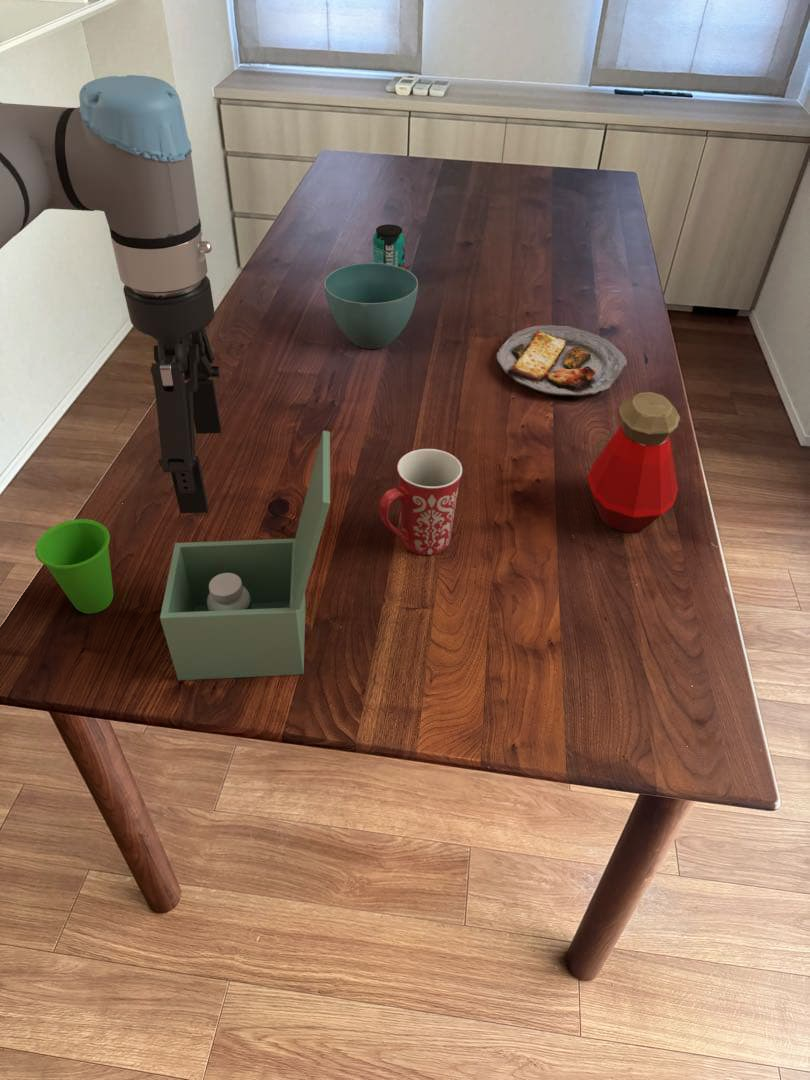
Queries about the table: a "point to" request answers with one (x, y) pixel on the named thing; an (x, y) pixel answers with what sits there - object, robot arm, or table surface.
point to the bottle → (637, 465)
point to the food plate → (561, 360)
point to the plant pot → (371, 301)
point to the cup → (79, 562)
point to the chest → (234, 611)
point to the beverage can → (389, 245)
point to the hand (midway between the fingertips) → (202, 469)
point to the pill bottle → (228, 593)
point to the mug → (424, 500)
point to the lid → (312, 519)
